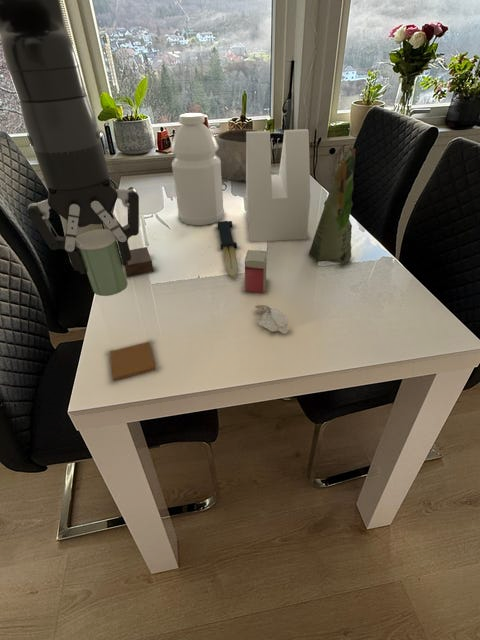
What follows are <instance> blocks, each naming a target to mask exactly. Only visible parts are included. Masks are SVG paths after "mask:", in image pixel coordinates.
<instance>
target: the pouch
mask: <svg viewBox="0 0 480 640" xmlns="http://www.w3.org/2000/svg"><path fill="white" fill-rule="evenodd" d="M356 151H357V150H356V148H355V147H352V146H350V147H349V148H348V149H347V152H346V154H344V156H343V157H342V158H341V160H339V162H338V163H337V165H336V168H335V170H334V172H333V173H332V174H333V175H332V180H331V183H330V187H329V191H328V195H327V197H326V199H325V200H324V202H323V205H324V206H323V210H322V212H321V215H320V218H319V221H318V225H317V227H316V231H315V233H314V235H313V240H312V243H311V247H310V249H309V251H308V255H309V256H310V257H312V258H313V259H314V261H315V264H317V263H324V262H331V263H337V264H340V265H341V266H346V265H347V264H348V263H349V262H350V260H351V258H352V234H353V233H352V228H353V225H352V223H351V220H350V217H351V216H350V215H351V211H352V208H353V206H354V202H353V199H352V196H353V191H354V187H355V186H354V171H355V163H356Z"/></svg>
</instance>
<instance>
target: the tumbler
mask: <svg viewBox="0 0 480 640" xmlns="http://www.w3.org/2000/svg"><path fill="white" fill-rule="evenodd" d="M75 245H76V246H77V247H78V249H79V252H80V255H81V258H82V261H83V264H84V267H85V271H86V273H85V274H86V275H87V278H88V281H89V285H90V287H91V290H92V292H93V293H94V295H97V296H101V297H111V296H114V295H117V294H119V293H122V292H123V291H124V290H126V289H127V287H128V285H129V284H128V282H129V281H128V278H127V274H126V271H125V267H124V266H123V262H122V258H121V255H120V251H119V247H118V243H117V238H116V237H115V235H114V234H113V233H112V232H111V231H110V230H109V229H108V228H97V229H91V230H88V231H86V232H85V231H84V232H83V233H80V234H79V235H78V236H76V241H75Z"/></svg>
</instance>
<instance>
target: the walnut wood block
mask: <svg viewBox="0 0 480 640" xmlns="http://www.w3.org/2000/svg"><path fill="white" fill-rule="evenodd" d="M130 254H131V260H130V261H127V262H128V265H124V266H123V267H124V270H125V274H126V278H127V277H133V276H138V275H143V274H147V273H153V272H154V271H155V269H154V265H153V260H152V257H151V254H150V252H149V249H148V246H145V247H139V248H133V249H130Z"/></svg>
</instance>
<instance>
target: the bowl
mask: <svg viewBox="0 0 480 640" xmlns="http://www.w3.org/2000/svg"><path fill="white" fill-rule="evenodd" d="M251 131H259V130H257V129H251V128H238V129H237V128H236V129H230V130H226V131H222V132H220V133H218V134H217V135H216V136H215V139H216V141H217V144H218V146H219V149H218V150H217V151H216V155H217V156H218V158H220V161H221V178H223V179H226V180H227V179H228V180H231V181H237V182H246V132H251ZM270 148H271V160H272V158H273V150H274V146H273V143H272V141H271V140H270Z"/></svg>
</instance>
